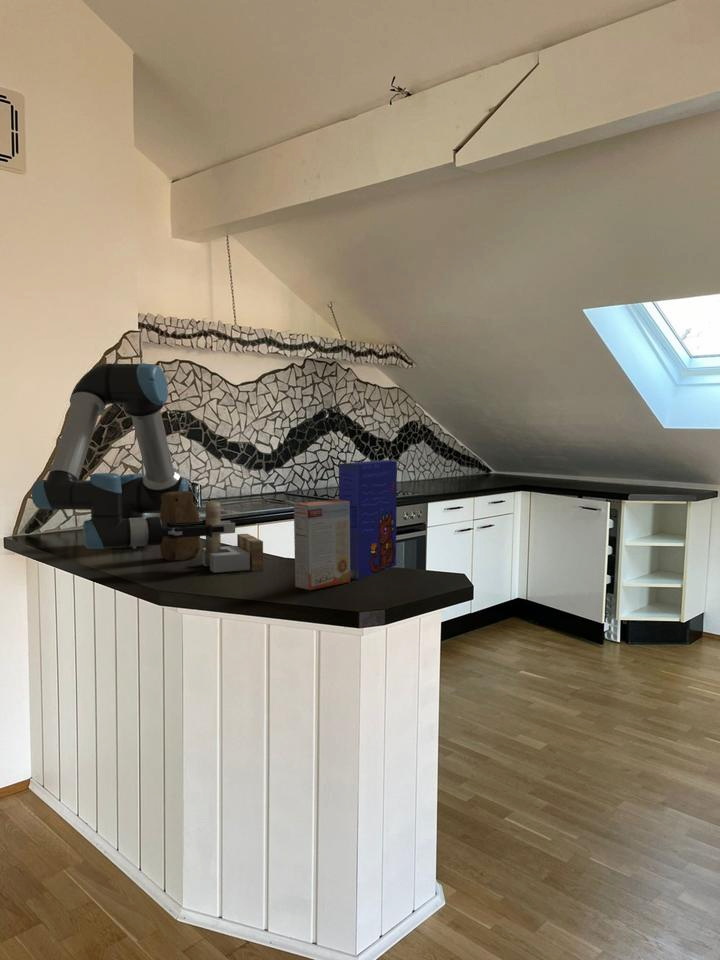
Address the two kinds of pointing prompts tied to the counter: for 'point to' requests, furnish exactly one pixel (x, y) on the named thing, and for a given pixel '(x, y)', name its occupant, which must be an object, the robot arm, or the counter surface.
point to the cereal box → (370, 514)
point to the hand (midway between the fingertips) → (232, 526)
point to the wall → (252, 550)
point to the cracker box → (322, 544)
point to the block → (179, 510)
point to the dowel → (215, 541)
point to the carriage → (228, 559)
